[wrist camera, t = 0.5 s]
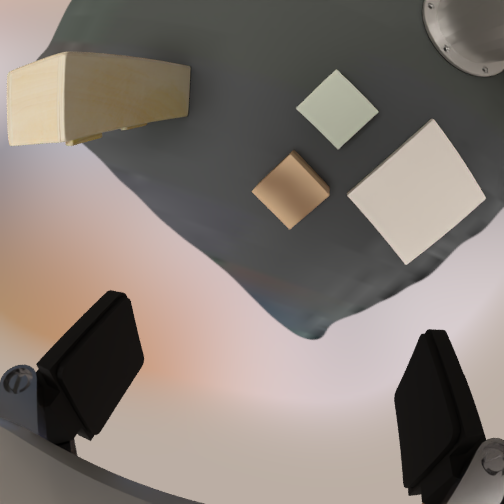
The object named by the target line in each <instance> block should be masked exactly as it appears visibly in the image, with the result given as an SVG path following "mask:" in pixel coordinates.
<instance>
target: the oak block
mask: <svg viewBox="0 0 504 504" xmlns="http://www.w3.org/2000/svg"><path fill="white" fill-rule="evenodd" d="M252 192H253V193H254V194H255V195H256V196H257V197H258V198H259V199H260V200H261V201H262V202H263V203H264V204H265V205H266V206H267V207H268V208H269V209H270V210H271V211H272V212H273V213H274V214H275V215H276V216H277V217H278V218H279V219H280V220H281V221H282V222H283V223H284V224H285V225H286V226H287V227H288V228H289V229H291V228H292V227H293V226H294V225H296V224H297V223H298V222H299V221H300V220H301V219H303V218H304V217H305V216H306V215H307V214H308V213H310V212H311V211H312V210H313V209H314V208H315V207H317V206H318V205H319V204H320V203H321V202H322V201H324V200H325V199H326V198H327V197H328V196H329V195H330V192H329V186H328V185H327V184H326V183H325V181H324V180H323V179H322V178H321V177H320V176H319V175H318V174H317V173H316V172H315V171H314V170H313V169H312V168H311V167H310V166H309V165H308V164H307V163H306V161H305V160H304V159H303V158H302V157H301V156H300V155H299V154H298V153H297V152H296V151H295V150H293V151H292V152H291V153H290V154H289V155H288V156H287V157H286V158H284V159H283V160H282V161H281V162H280V163H279V164H278V165H277V166H276V167H275V168H274V169H273V170H272V171H271V172H270V173H269V174H268V175H267V176H266V177H265V178H264V179H263V180H262V181H260V182H259V183H258V185H257V186H256V187H255V188H254V189H253V190H252Z"/></svg>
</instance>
